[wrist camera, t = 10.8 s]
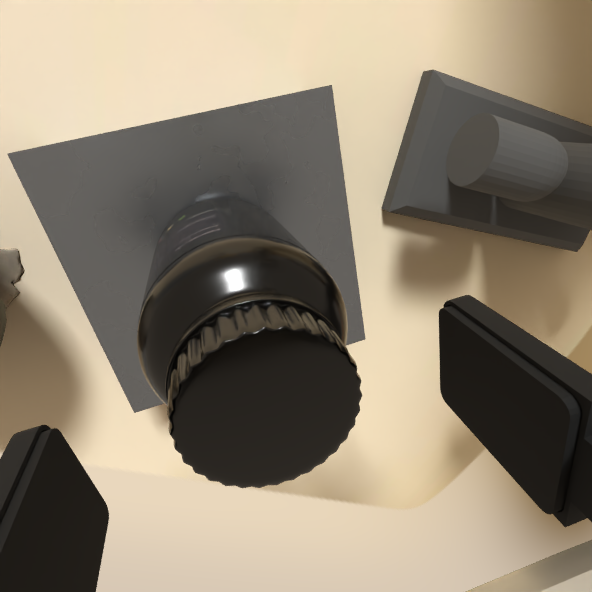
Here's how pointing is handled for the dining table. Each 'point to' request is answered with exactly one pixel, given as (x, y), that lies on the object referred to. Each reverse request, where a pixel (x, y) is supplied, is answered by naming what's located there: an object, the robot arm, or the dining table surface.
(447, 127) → the faucet
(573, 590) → the robot arm
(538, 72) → the dining table surface
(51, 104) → the dining table surface
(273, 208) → the stand
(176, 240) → the supplement bottle
